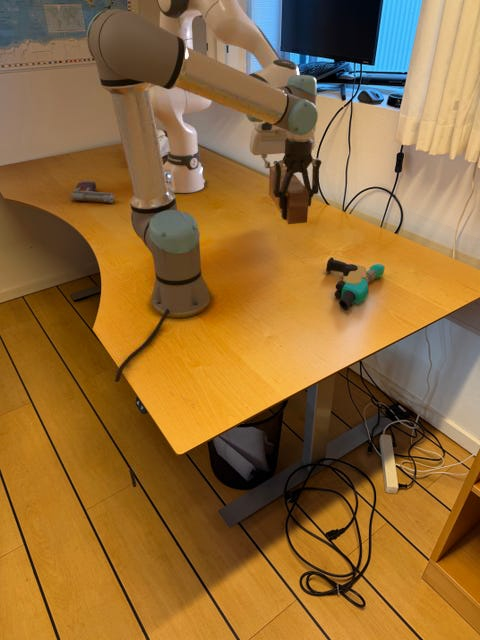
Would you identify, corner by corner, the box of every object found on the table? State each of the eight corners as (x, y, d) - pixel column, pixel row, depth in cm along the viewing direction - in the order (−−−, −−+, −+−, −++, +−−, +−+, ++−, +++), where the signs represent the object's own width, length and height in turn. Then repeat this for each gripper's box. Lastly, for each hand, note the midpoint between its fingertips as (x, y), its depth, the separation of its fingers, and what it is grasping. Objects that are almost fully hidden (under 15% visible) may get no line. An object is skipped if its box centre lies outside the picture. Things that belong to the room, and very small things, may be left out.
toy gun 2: (304, 289, 121) (361, 305, 115) (336, 248, 139) (387, 259, 134) (302, 304, 124) (359, 320, 118) (334, 262, 142) (384, 273, 136)
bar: (306, 222, 142) (309, 191, 136) (288, 224, 141) (289, 193, 136) (285, 192, 162) (286, 165, 156) (268, 194, 161) (269, 166, 155)
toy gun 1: (126, 191, 190) (111, 206, 179) (83, 188, 193) (65, 202, 182) (125, 182, 188) (109, 196, 176) (81, 179, 191) (63, 193, 179)
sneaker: (130, 167, 214) (125, 139, 207) (157, 149, 236) (154, 123, 229) (151, 169, 212) (147, 141, 204) (176, 150, 234) (174, 125, 226)
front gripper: (327, 132, 135) (319, 209, 149) (262, 136, 132) (261, 214, 146) (336, 139, 129) (327, 219, 143) (268, 144, 126) (266, 224, 140)
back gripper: (312, 116, 148) (309, 161, 156) (248, 120, 145) (248, 166, 153) (319, 121, 143) (315, 167, 151) (252, 125, 140) (252, 172, 148)
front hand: (294, 216), depth 144 cm, fingers closed on bar, 6 cm apart
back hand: (281, 166), depth 152 cm, fingers open, 8 cm apart
